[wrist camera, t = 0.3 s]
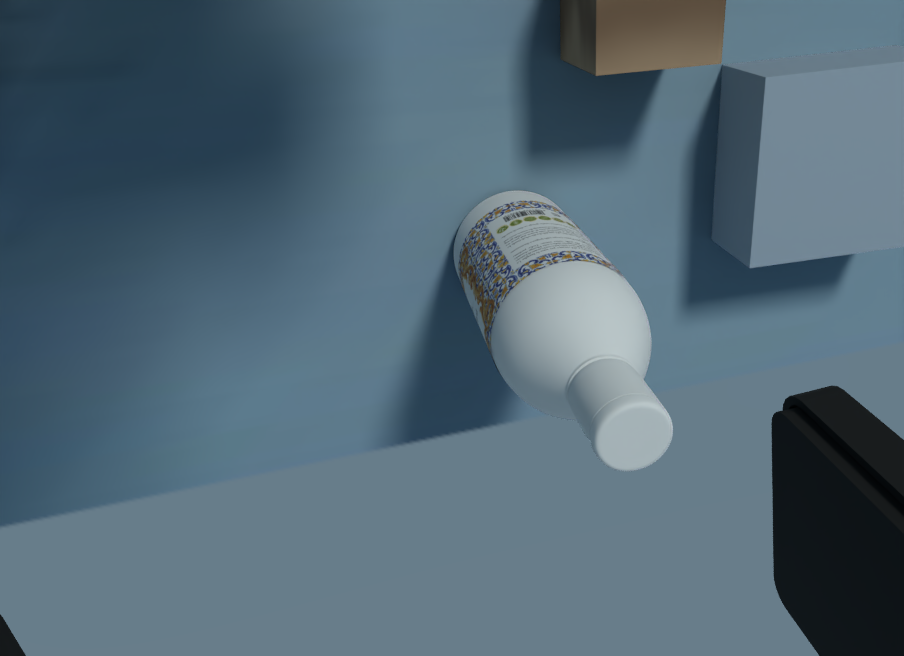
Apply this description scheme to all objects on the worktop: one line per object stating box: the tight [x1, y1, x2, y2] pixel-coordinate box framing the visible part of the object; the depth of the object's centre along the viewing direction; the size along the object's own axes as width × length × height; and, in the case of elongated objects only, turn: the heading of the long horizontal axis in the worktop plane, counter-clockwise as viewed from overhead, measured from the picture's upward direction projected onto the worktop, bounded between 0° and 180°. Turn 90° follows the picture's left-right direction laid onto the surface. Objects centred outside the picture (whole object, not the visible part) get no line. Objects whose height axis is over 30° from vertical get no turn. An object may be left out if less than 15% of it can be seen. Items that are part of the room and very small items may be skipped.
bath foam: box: [454, 191, 673, 471], centre depth 37 cm, size 7×7×20 cm
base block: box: [711, 45, 904, 268], centre depth 44 cm, size 10×10×5 cm
